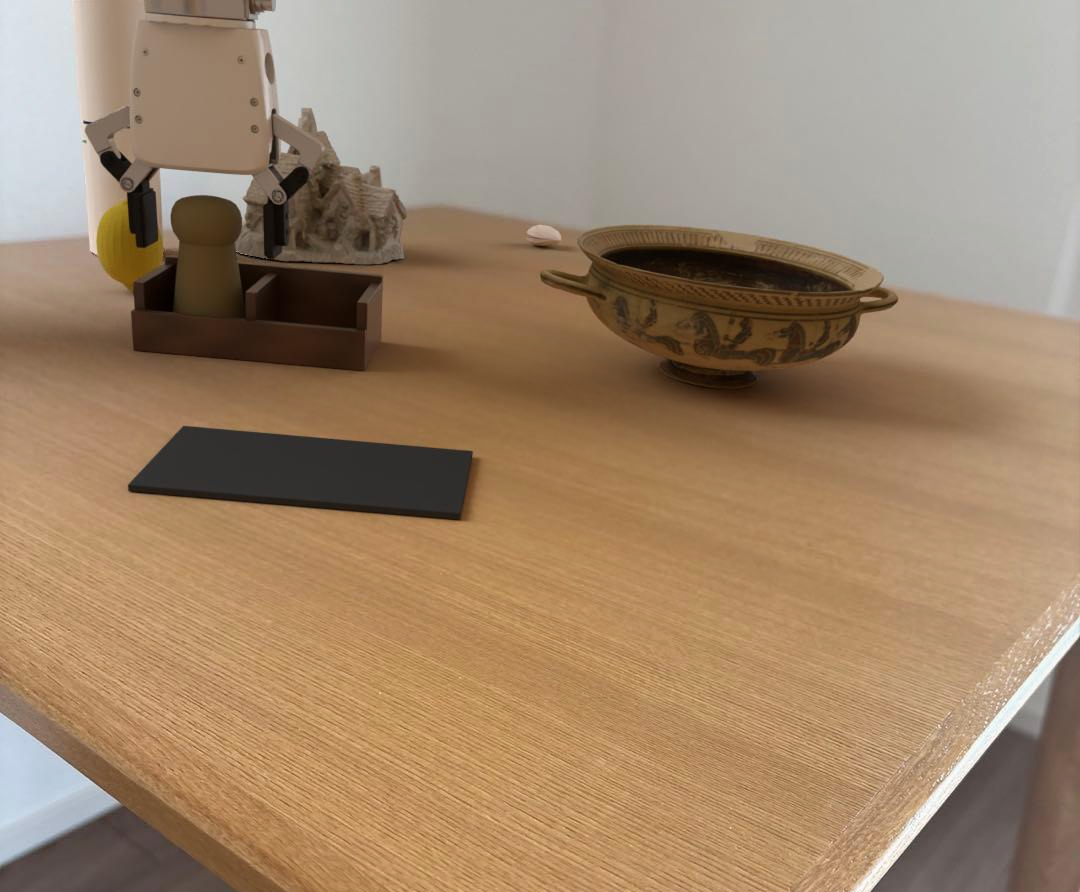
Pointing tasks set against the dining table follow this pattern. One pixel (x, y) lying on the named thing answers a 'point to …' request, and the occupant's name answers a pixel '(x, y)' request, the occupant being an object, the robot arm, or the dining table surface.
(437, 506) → the mat
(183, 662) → the dining table surface
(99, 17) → the cylindrical container
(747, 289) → the ceramic bowl
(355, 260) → the ceramic cottage
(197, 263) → the cork
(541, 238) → the clam shell
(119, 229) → the lemon
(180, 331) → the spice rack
